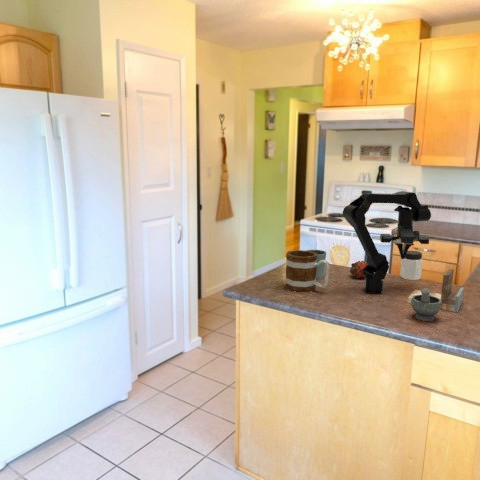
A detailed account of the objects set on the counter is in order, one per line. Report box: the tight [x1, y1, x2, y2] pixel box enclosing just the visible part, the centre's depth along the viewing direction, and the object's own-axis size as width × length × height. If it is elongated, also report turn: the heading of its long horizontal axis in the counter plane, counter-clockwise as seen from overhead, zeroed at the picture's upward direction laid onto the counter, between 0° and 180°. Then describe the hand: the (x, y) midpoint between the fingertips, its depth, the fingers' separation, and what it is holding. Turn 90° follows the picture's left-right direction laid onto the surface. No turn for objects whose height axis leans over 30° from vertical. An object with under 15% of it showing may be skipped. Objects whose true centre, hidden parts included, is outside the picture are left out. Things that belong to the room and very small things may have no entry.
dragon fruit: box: [349, 260, 367, 279], centre depth 200 cm, size 8×8×12 cm
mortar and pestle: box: [410, 287, 442, 322], centre depth 150 cm, size 11×9×12 cm
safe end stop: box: [453, 286, 465, 313], centre depth 161 cm, size 1×13×6 cm, turn 146°
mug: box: [284, 249, 330, 293], centre depth 181 cm, size 20×14×15 cm
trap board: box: [407, 289, 455, 312], centre depth 167 cm, size 16×12×2 cm
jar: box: [399, 250, 423, 281], centre depth 199 cm, size 9×8×12 cm
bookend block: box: [440, 268, 458, 305], centre depth 162 cm, size 5×10×11 cm, turn 146°
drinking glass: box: [305, 249, 327, 280], centre depth 199 cm, size 10×10×12 cm
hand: (402, 258), depth 181 cm, fingers closed
